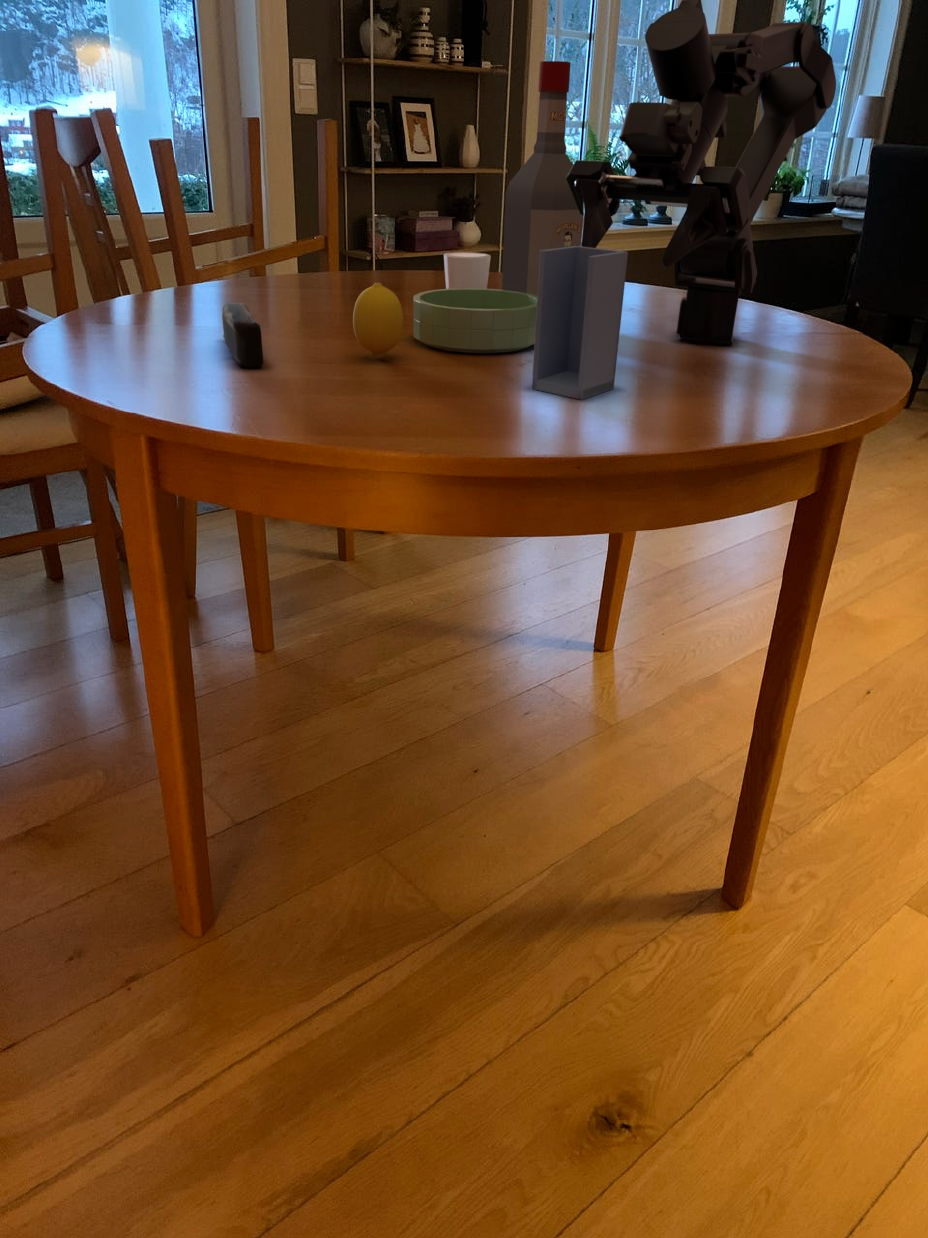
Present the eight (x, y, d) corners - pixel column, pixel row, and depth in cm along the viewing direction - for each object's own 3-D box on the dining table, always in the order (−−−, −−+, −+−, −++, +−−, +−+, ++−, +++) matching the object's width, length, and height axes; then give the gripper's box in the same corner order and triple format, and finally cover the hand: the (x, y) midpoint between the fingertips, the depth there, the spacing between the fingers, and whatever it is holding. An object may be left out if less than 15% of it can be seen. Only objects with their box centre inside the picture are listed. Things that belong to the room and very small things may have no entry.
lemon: (384, 365, 97) (382, 288, 93) (344, 358, 100) (341, 282, 96) (413, 356, 101) (413, 282, 98) (374, 350, 104) (372, 277, 100)
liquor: (587, 326, 120) (610, 62, 105) (533, 332, 115) (549, 57, 101) (544, 315, 126) (560, 65, 112) (492, 320, 122) (501, 61, 107)
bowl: (551, 334, 115) (554, 293, 112) (526, 359, 101) (528, 314, 99) (435, 324, 118) (435, 284, 116) (395, 348, 105) (395, 303, 103)
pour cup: (564, 378, 94) (575, 245, 88) (613, 388, 91) (628, 251, 85) (531, 388, 90) (540, 250, 84) (581, 399, 87) (594, 256, 81)
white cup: (484, 310, 128) (486, 258, 125) (438, 307, 130) (438, 255, 126) (492, 302, 134) (494, 252, 131) (448, 299, 135) (449, 250, 132)
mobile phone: (265, 321, 93) (239, 294, 105) (235, 323, 92) (213, 295, 104) (268, 370, 95) (243, 338, 107) (239, 372, 94) (217, 339, 106)
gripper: (583, 71, 91) (517, 194, 89) (761, 68, 82) (693, 207, 79) (612, 157, 101) (553, 271, 98) (775, 164, 91) (714, 291, 88)
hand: (622, 260), depth 91 cm, fingers open, 9 cm apart
